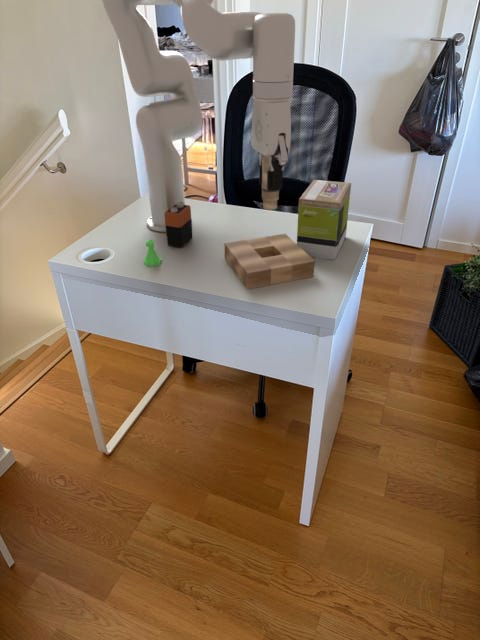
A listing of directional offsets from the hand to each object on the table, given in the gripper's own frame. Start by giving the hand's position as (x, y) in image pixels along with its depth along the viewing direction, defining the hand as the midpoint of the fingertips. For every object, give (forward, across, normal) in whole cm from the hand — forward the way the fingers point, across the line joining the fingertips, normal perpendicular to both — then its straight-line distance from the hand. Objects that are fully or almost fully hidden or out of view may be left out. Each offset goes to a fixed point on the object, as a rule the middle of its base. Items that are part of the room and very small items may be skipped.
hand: (270, 185), depth 98 cm
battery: (+19, -21, -16) cm, 33 cm away
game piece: (+20, -12, -25) cm, 34 cm away
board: (+19, 0, 0) cm, 19 cm away
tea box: (+20, -6, +17) cm, 27 cm away
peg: (+5, 0, 0) cm, 5 cm away
